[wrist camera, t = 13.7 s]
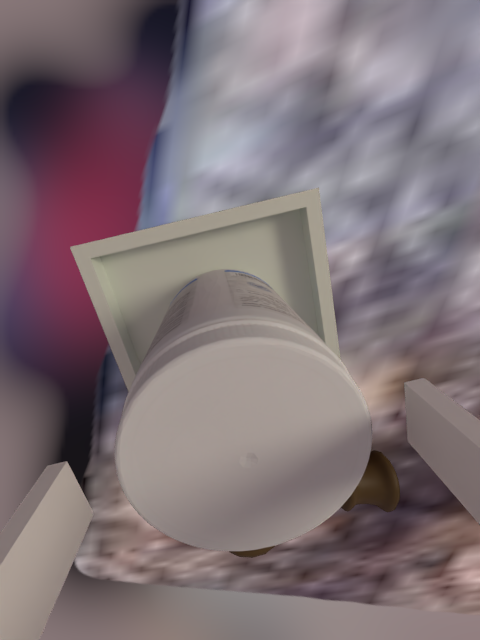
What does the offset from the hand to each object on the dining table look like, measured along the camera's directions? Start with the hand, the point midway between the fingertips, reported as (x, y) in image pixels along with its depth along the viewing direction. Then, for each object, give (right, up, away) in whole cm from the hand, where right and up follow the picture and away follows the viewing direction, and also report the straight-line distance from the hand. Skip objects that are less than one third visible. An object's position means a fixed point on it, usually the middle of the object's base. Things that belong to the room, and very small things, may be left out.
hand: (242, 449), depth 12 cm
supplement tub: (-1, +5, +13) cm, 14 cm away
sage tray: (-1, +5, +14) cm, 15 cm away
